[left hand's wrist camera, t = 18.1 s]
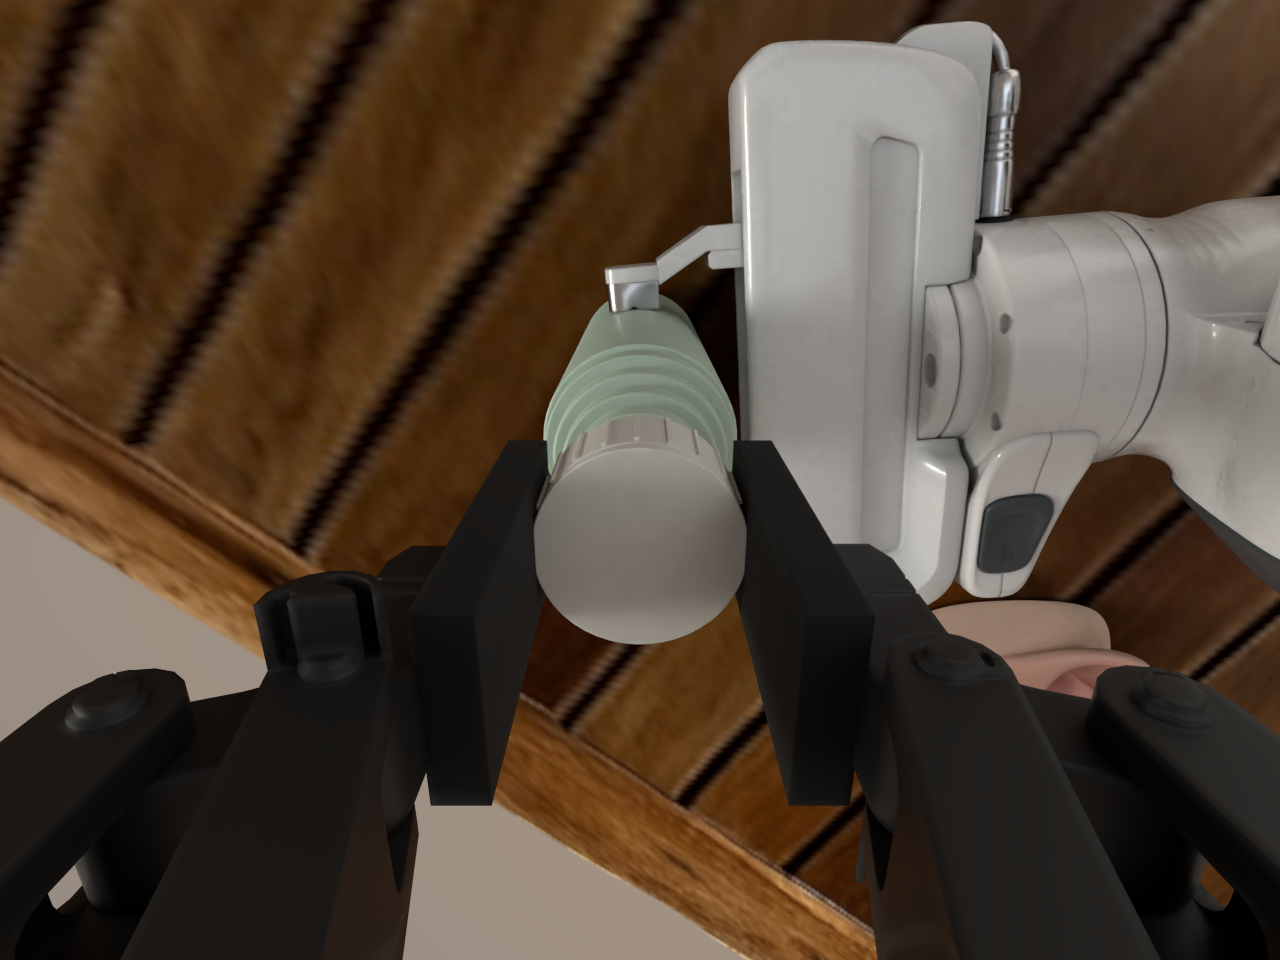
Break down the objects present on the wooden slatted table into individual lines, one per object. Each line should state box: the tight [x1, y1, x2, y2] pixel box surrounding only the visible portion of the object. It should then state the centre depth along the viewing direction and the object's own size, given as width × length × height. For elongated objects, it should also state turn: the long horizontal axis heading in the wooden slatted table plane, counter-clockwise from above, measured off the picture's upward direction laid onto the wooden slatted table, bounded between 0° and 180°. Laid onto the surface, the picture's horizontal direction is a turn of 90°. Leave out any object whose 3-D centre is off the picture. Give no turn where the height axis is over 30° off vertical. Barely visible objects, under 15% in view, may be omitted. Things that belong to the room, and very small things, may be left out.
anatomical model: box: [932, 600, 1150, 699], centre depth 36 cm, size 13×4×12 cm
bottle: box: [544, 294, 737, 475], centre depth 22 cm, size 5×5×20 cm
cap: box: [534, 414, 747, 644], centre depth 13 cm, size 4×4×2 cm
